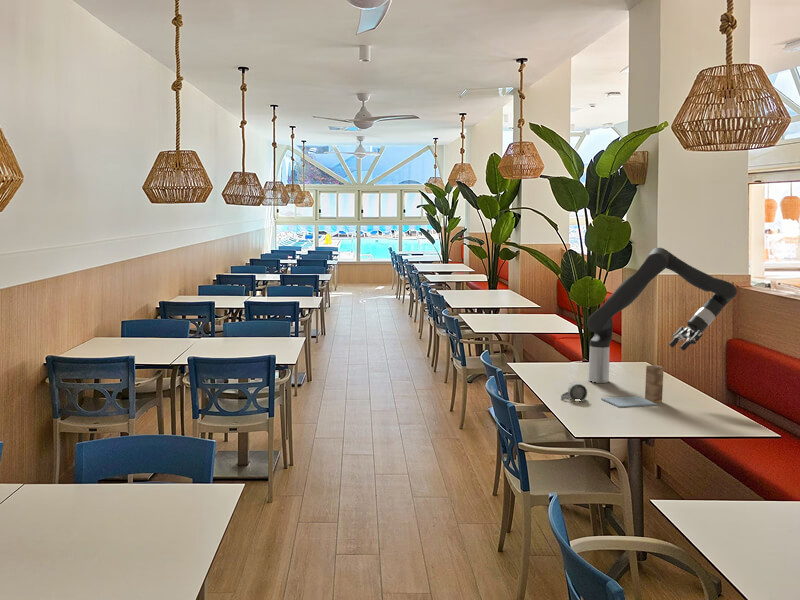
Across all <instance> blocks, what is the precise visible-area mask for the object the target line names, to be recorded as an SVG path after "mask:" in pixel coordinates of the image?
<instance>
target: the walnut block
mask: <svg viewBox="0 0 800 600" xmlns="http://www.w3.org/2000/svg"><path fill="white" fill-rule="evenodd" d="M664 369H665V368H664V366H661V365H658V364H652V365H651V364H650V365H646V369H645V386H644V387H645V390H644V391H645V392H644V399H647V400H649V401H652V402H654V403H662V402H663V390H664V389H663V387H664V371H665V370H664Z"/></svg>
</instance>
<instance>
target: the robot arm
mask: <svg viewBox="0 0 800 600" xmlns="http://www.w3.org/2000/svg"><path fill="white" fill-rule="evenodd" d="M666 269H667V270H669V271H672V272H674V273H675V274H677V275H678V276H679V277H681V278H682V279H684V280H685V281H686V282H687V283H689V284H690V285H692V286H693V287H695V288H698V289H700V290H701V291H704V292H706V293H708V292H709V293H710V292H712V293H713V294H712V296H711V297H710V298H709V299H708V300H707V301H706V302H705V303H704V304H703V305H702V306H701V307H700V308H699V309H697V311H696V312H695V313H694V314H693V315H692V316H691V318H689V319H688V321H687V322H686V323H687V326H686V327H684V326H683V325H682V326H680V327H679V328H678V329H677V330H676V331H675V332H674V333H673V334H672V337H673V338H672V340H671V341H670V342H669V344H668V345H669V347H670V348H674V347H675V346H676V345H677V344H678V343H679V342H680V341H682V340H685V341H684V342H683V343H682V345H680V347H679V348H680V349H681V351H683V352H684V351H686V350H687V348H689V346H690V345H696V343H698V341H699V340H700V339H701V338H702V337H703V335H704V333H703V332H704V331H706V330H707V328H708V327H710V325H711V324H712V322H713V321H714V320H715V319H716V318H717V316H719V314H720V313H721V311H723V308H724V307H725V306H727V304H728V303H729V302H730V301H732V299H733V298H735V296H737V292H738V289H737V287H736V286H735V285H734V284H732V283H731V282H729V281H726V280H724V279H720V278H717V277H714V276H712V275H710V274H707V273H706V272H704V271H702V270H699V269H697V267H693V266H691V265H690V264H689V263H687V262H685V261H683V260H682V259H680V258H678V257H677V256H676V255H674V254H673V253H672V252H670V251H669V250H667V249H665V248H663V247H654V248H653V249H651V251H650V252H649V254H648V255H647V257H646V259H645V260H644V261H643V262H642V264H641V265H640V267H639V268H638V269H637V270H636V271H635V273H633V274H631V275H630V276H629V277H627V278H625V280H624V281H623V282H622V283H620V285H619V286H618V287H617V288H616V290H615V291H614V292H613V293H612V294H611V295H610V296H609V297H608V298H607V299H606V301H605V302H604V303H603V304H601V306H600V307H599V308H598V309H596V310H595V311H594V312H593V313H592V314H591V315H590V316H589V317H588V319H587V322H586V325H587V328H588V331H590V332H591V333H594V335H593V336H592V338H591V339H590V340H589V359H588V379H587V380H588V382H590V381H592V382H591V383H594V382H596V384H606V383H608V382H609V380H610V346H611V342H612V339H613V328H614V322H613V317H614V316H615V315H616V314H618V313H619V312H621V311H623V310H624V309H626V308H627V307H629V306H630V305H632V303H633V302H634V301H636V300H637V298H638V297H639V296H640V295H641V293H643V292H644V290H645V288H646V287H647V286H648V284H649V283H650V282H651V281H652V280H653V279H654V278H655V277H657V276H658V275H660V273H662V272H663V271H664V270H666Z"/></svg>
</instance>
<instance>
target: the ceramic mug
mask: <svg viewBox="0 0 800 600" xmlns="http://www.w3.org/2000/svg"><path fill="white" fill-rule="evenodd" d="M587 396H588V389H587V387H586V386H585V385H584V384H583V383H581V382H578V381H575V382H572V383H570V385H569V386H568V388H567V391H566V392H564V393H562V394H561V395H560V398H561V400H563V401H565V400H568V399H571V400H572V401H573V402H575V399H580V400H581V402H583V401H584V400H586V398H587Z"/></svg>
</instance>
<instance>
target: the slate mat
mask: <svg viewBox="0 0 800 600" xmlns="http://www.w3.org/2000/svg"><path fill="white" fill-rule="evenodd" d="M600 398H601V399H602V401H603V400H604V401H603V402H605V401H606V402H605V403H608V404H610V405H613V406H614V407H617V408H618V409H619V408H621V409H622V408H635V407H648V406H649V407H651V406H658V403H657V402H652V401H649V400H647V399H645V397H642V396H640V395H632V396H614V397H600ZM601 399H600V400H601Z"/></svg>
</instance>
